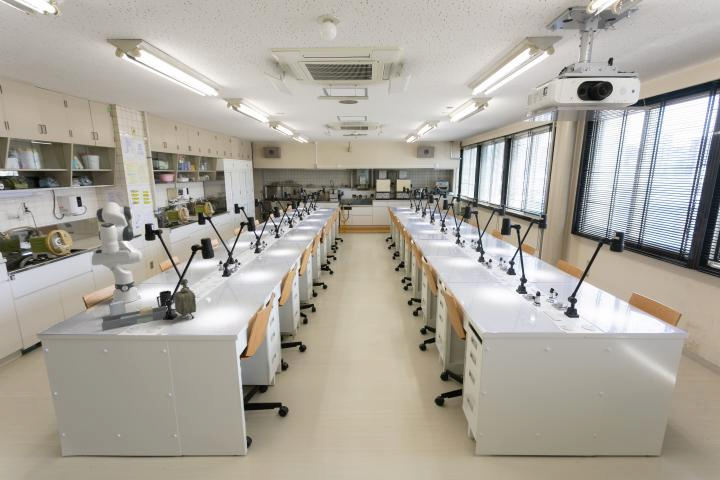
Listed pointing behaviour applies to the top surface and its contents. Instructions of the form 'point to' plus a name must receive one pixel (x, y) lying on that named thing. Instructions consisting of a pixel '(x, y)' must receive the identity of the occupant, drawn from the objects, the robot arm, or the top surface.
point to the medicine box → (117, 308)
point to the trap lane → (132, 318)
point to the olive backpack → (185, 301)
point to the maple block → (146, 310)
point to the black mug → (163, 297)
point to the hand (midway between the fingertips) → (113, 269)
